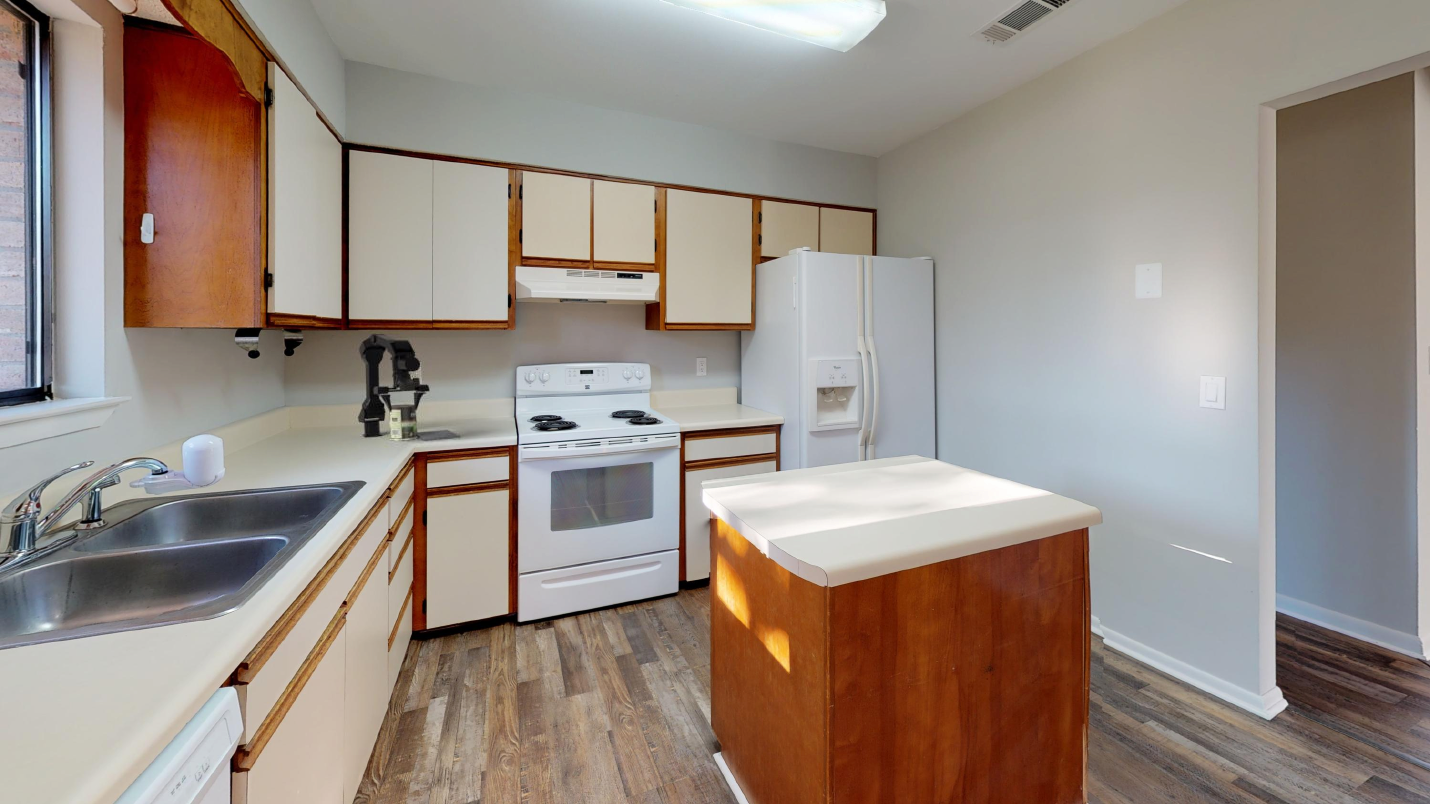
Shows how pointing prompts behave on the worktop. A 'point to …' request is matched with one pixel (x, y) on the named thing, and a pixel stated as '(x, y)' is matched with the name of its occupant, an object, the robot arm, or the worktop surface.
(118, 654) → the worktop surface
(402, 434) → the coffee can
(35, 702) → the worktop surface
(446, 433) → the rubber mat
